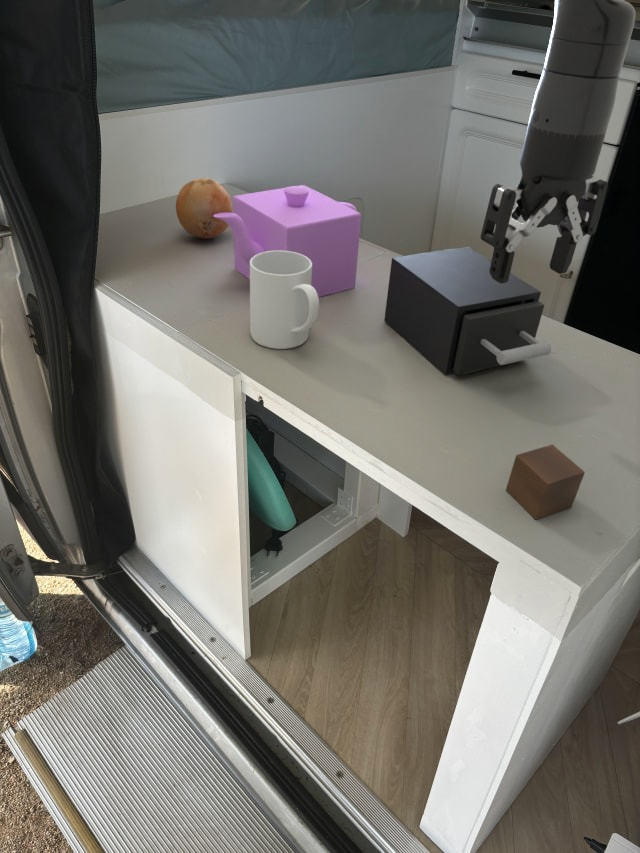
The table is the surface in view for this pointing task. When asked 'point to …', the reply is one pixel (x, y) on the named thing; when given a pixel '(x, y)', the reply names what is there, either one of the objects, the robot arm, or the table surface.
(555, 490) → the block
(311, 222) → the teapot
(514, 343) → the drawer
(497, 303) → the cabinet
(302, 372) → the table surface
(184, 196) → the onion
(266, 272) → the mug
